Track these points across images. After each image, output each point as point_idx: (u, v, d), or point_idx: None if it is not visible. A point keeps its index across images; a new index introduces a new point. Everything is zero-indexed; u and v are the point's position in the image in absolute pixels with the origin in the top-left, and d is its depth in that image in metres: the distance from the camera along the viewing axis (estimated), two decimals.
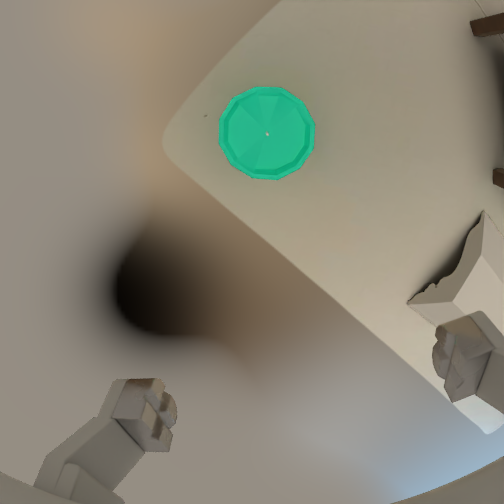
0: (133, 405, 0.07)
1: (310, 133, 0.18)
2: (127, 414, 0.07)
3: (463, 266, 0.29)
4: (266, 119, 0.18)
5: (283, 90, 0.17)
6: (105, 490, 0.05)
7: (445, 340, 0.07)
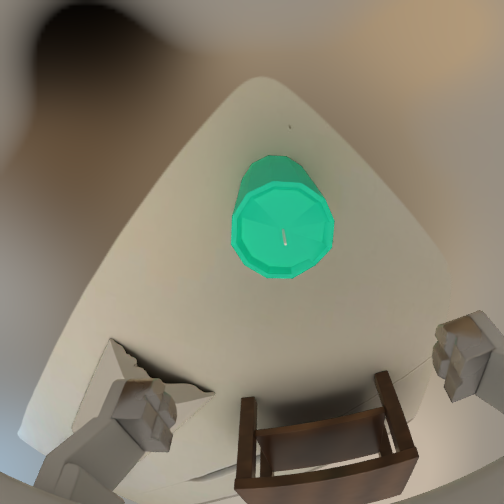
0: (133, 405, 0.07)
1: (282, 274, 0.19)
2: (127, 414, 0.07)
3: None
4: (297, 230, 0.18)
5: (328, 249, 0.18)
6: (105, 490, 0.05)
7: (445, 340, 0.07)
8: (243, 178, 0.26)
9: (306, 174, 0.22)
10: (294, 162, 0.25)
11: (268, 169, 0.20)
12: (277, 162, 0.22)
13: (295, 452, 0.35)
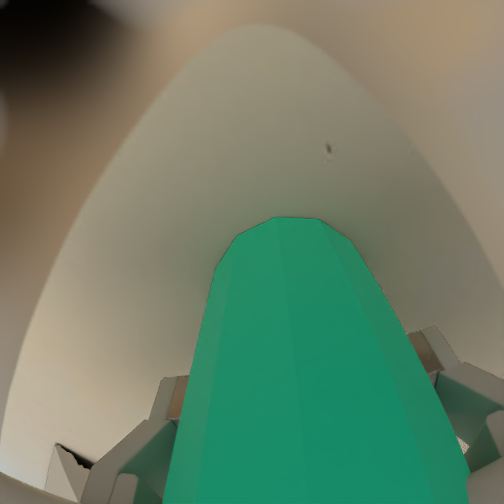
0: None
1: None
2: None
3: None
4: None
5: None
6: (161, 499, 0.05)
7: None
8: (215, 277, 0.11)
9: (385, 302, 0.08)
10: (339, 239, 0.10)
11: (284, 342, 0.05)
12: (306, 267, 0.08)
13: None
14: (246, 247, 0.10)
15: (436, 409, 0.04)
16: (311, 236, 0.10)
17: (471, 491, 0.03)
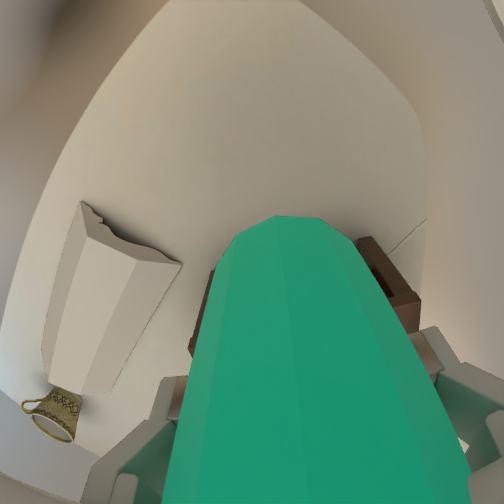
0: None
1: None
2: None
3: (123, 244, 0.33)
4: None
5: None
6: (161, 499, 0.05)
7: None
8: (215, 276, 0.11)
9: (385, 301, 0.07)
10: (339, 238, 0.10)
11: (283, 341, 0.05)
12: (306, 266, 0.08)
13: None
14: (246, 246, 0.10)
15: (436, 408, 0.04)
16: (311, 235, 0.10)
17: (471, 491, 0.03)
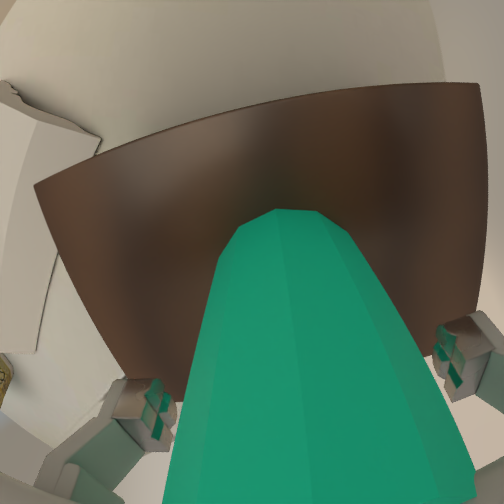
0: (133, 405, 0.07)
1: None
2: (127, 414, 0.07)
3: (27, 108, 0.19)
4: None
5: None
6: (105, 490, 0.05)
7: (445, 340, 0.07)
8: (218, 266, 0.11)
9: (379, 286, 0.08)
10: (336, 230, 0.11)
11: (283, 316, 0.06)
12: (304, 252, 0.08)
13: None
14: (248, 236, 0.10)
15: (428, 380, 0.05)
16: (309, 226, 0.10)
17: None
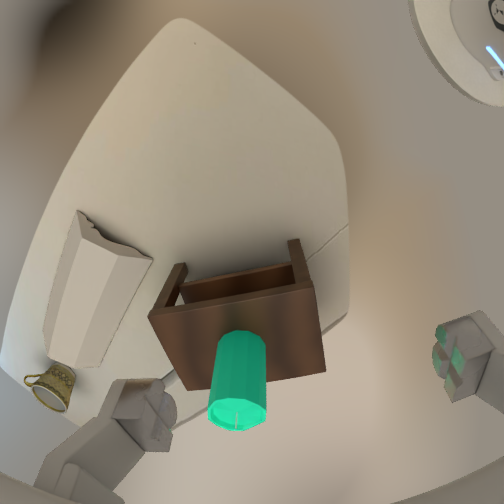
0: (133, 405, 0.07)
1: (238, 429, 0.29)
2: (127, 414, 0.07)
3: (108, 244, 0.44)
4: (245, 412, 0.29)
5: (263, 421, 0.29)
6: (105, 490, 0.05)
7: (445, 340, 0.07)
8: (218, 347, 0.36)
9: (257, 360, 0.33)
10: (253, 338, 0.36)
11: (230, 369, 0.31)
12: (238, 351, 0.33)
13: None
14: (226, 341, 0.35)
15: (256, 384, 0.30)
16: (243, 339, 0.35)
17: (471, 491, 0.03)
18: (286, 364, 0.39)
